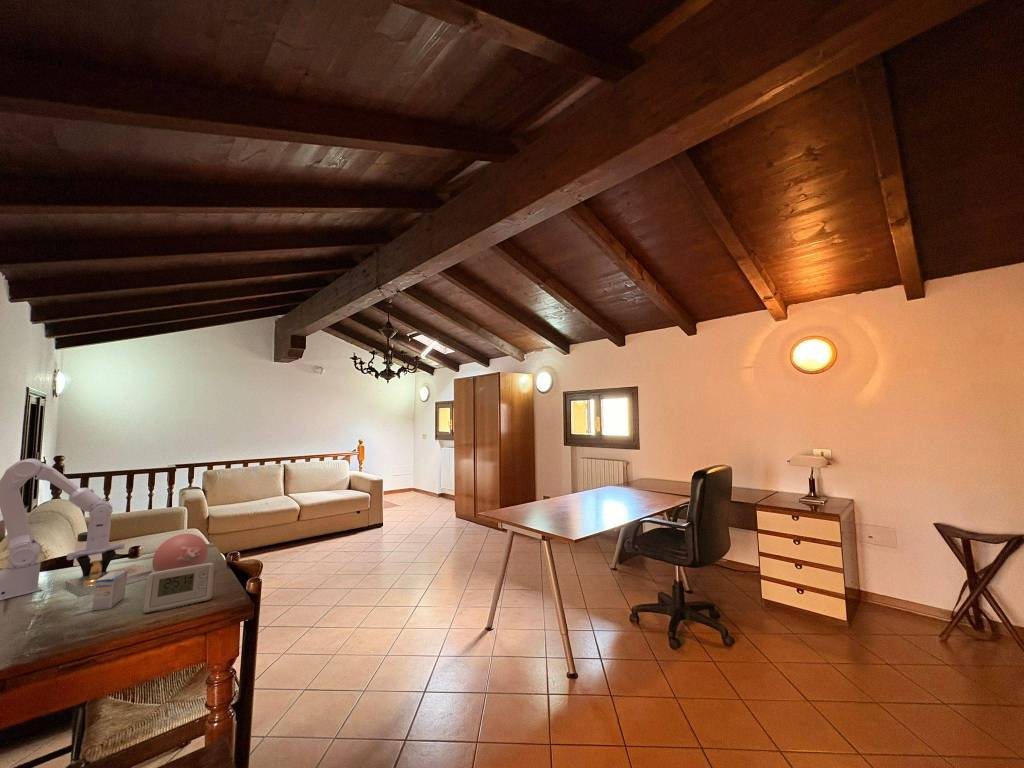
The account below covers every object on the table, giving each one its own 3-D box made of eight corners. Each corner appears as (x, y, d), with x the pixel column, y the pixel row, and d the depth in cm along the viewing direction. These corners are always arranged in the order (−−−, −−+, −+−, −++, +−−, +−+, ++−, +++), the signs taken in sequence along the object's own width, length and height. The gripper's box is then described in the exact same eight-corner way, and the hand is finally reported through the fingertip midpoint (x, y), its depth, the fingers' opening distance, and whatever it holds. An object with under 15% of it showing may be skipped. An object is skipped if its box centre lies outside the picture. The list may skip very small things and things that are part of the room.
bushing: (88, 581, 139) (90, 564, 140) (83, 579, 141) (85, 562, 141) (103, 578, 142) (105, 560, 143) (99, 576, 144) (101, 559, 145)
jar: (100, 558, 165) (103, 528, 167) (108, 560, 161) (111, 530, 163) (69, 564, 157) (73, 533, 159) (76, 567, 154) (80, 536, 155)
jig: (79, 596, 126) (81, 585, 127) (64, 588, 133) (66, 577, 133) (150, 577, 142) (151, 567, 143) (134, 571, 149) (135, 561, 149)
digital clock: (138, 615, 113) (142, 577, 114) (152, 603, 121) (155, 567, 122) (207, 605, 119) (210, 568, 121) (215, 593, 128) (218, 560, 129)
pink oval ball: (159, 593, 128) (164, 545, 130) (145, 580, 140) (149, 535, 142) (216, 579, 140) (219, 534, 142) (198, 567, 152) (202, 527, 154)
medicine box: (106, 600, 123) (109, 571, 124) (124, 598, 125) (127, 569, 126) (91, 611, 116) (94, 580, 117) (111, 608, 118) (114, 578, 119)
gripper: (73, 542, 135) (69, 583, 134) (129, 532, 148) (125, 570, 146) (66, 540, 138) (61, 580, 137) (121, 530, 151) (117, 567, 150)
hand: (94, 574), depth 142 cm, fingers closed on bushing, 4 cm apart
